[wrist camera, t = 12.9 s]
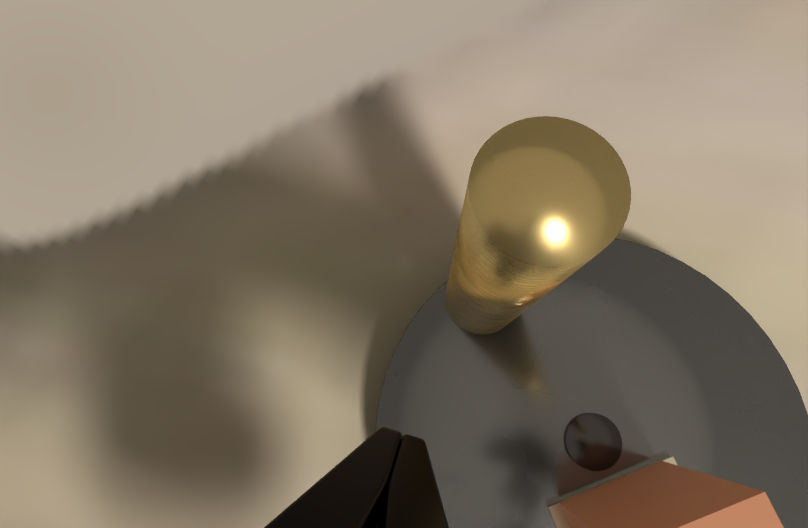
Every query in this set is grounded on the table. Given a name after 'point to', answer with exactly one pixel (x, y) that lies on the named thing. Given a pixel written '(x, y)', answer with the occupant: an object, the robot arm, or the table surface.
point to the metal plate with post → (582, 350)
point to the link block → (670, 502)
